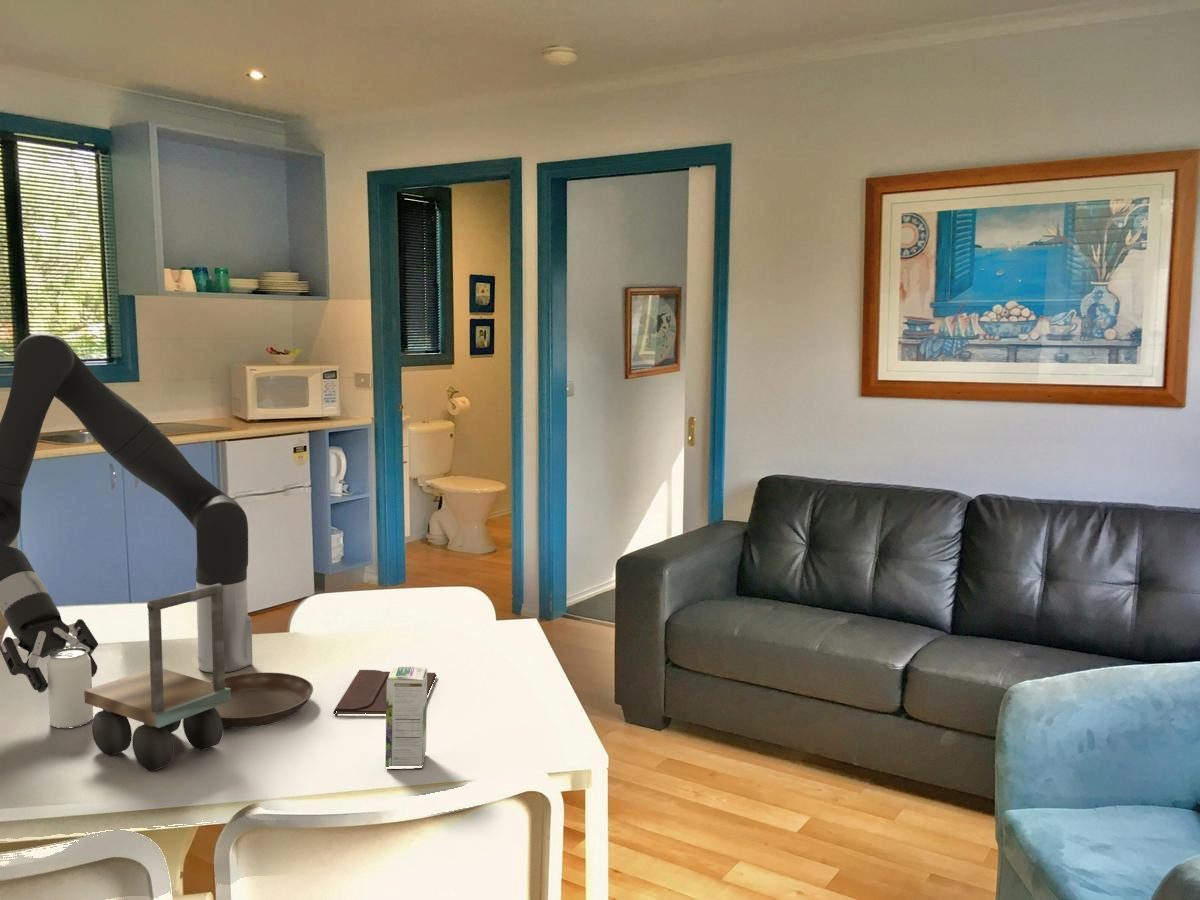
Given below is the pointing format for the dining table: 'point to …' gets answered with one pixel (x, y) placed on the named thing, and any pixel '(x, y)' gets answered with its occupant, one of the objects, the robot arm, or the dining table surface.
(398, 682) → the syrup box
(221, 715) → the plant saucer
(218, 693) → the trolley
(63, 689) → the can
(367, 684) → the notebook
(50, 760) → the dining table surface
